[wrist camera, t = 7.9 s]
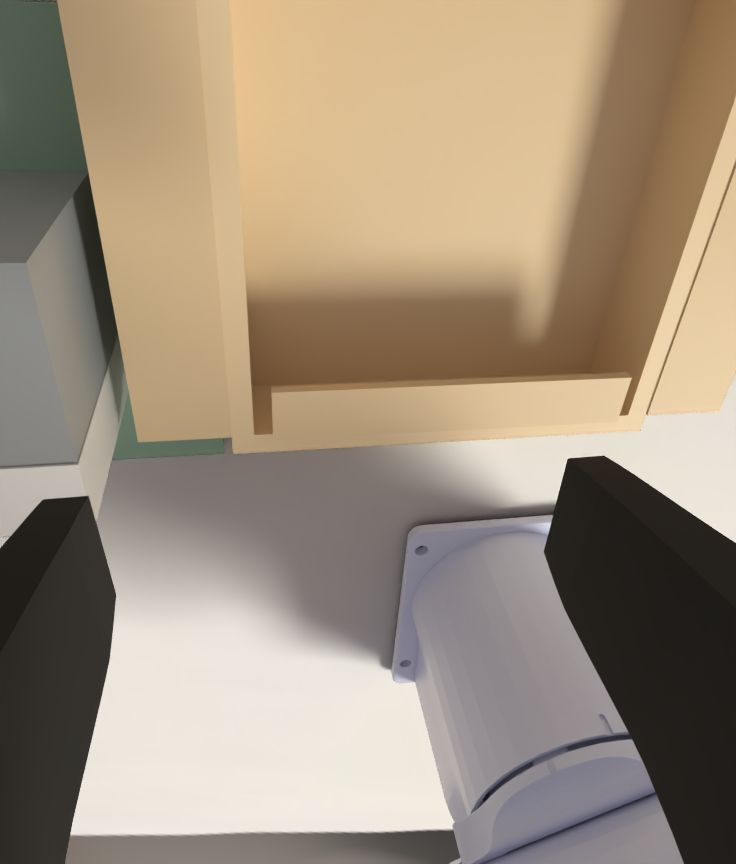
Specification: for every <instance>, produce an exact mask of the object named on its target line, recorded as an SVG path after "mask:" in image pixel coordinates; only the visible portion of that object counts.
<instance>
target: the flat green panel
mask: <svg viewBox="0 0 736 864" xmlns="http://www.w3.org/2000/svg"><path fill="white" fill-rule="evenodd" d="M0 170H52V171H88V167H87V162H86V156H85V151H84V145H83V140H82V134H81V129H80V124H79V118H78V113H77V107H76V102H75V96H74V91H73V85H72V80H71V75H70V69H69V64H68V58H67V53H66V47H65V42H64V36H63V31H62V26H61V20H60V15H59V9H58V4H57V2H38V1H20V0H0ZM223 453H224V439H223V438H211V439H192V440H174V441H155V442H138V439H137V434H136V428H135V423H134V417H133V412H132V407H131V401H130V396H129V391H128V395H127V399H126V404H125V408H124V412H123V416H122V420H121V424H120V428H119V432H118V437H117V441H116V445H115V449H114V453H113V457H112V460H118V459H135V458H153V457H170V456H188V455H205V454H223Z"/></svg>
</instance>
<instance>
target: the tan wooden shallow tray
mask: <svg viewBox="0 0 736 864" xmlns="http://www.w3.org/2000/svg"><path fill="white" fill-rule="evenodd" d="M57 4H58V9H59V15H60V20H61V26H62V31H63V36H64V42H65V47H66V53H67V58H68V64H69V69H70V75H71V80H72V85H73V91H74V96H75V102H76V107H77V113H78V118H79V124H80V129H81V134H82V140H83V145H84V151H85V156H86V162H87V167H88V172H89V178H90V183H91V189H92V194H93V200H94V205H95V211H96V216H97V221H98V227H99V232H100V238H101V243H102V249H103V254H104V260H105V265H106V270H107V276H108V281H109V287H110V292H111V298H112V303H113V309H114V314H115V319H116V325H117V330H118V336H119V341H120V347H121V352H122V358H123V363H124V368H125V374H126V379H127V385H128V390H129V396H130V401H131V407H132V412H133V417H134V423H135V428H136V434H137V439H138V442H155V441H174V440H192V439H211V438H230V437H232V449H233V454H244V453H262V452H279V451H297V450H314V449H332V448H349V447H367V446H384V445H401V444H419V443H436V442H454V441H471V440H489V439H506V438H523V437H541V436H558V435H576V434H593V433H611V432H628V431H641V428H642V425H643V423H644V420H645V417H646V414H647V415H663V414H682V413H700V412H719V411H720V408H721V406H722V404H723V401H724V399H725V397H726V394H727V392H728V390H729V388H730V385H731V383H732V381H733V378H734V376H735V374H736V0H57Z"/></svg>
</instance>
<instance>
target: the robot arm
mask: <svg viewBox="0 0 736 864" xmlns="http://www.w3.org/2000/svg"><path fill="white" fill-rule="evenodd" d="M419 546H423V547H421V548H417V547H419ZM115 600H116V593H115V589H114V585H113V582H112V578H111V575H110V571H109V567H108V564H107V560H106V557H105V553H104V549H103V546H102V542H101V538H100V535H99V531H98V528H97V524H96V520H95V517H94V513H93V510H92V506H91V502H90V499H89V496H80V497H67V498H54V499H43V500H42V501H41V502H40V503H39V504H38V505H37V506H36V507H35V509H34V510H33V511H32V512H31V513H30V514H29V515H28V517H27V518H26V519H25V520H24V521H23V522H22V523H21V525H20V526H19V527H18V528H17V529H16V530H15V532H14V533H13V534H12V535H11V536H10V537H9V539H8V540H7V541H6V542H5V543H4V545H3V546H2V547H1V548H0V864H65V859H66V853H67V848H68V842H69V838H70V832H71V827H72V822H73V817H74V813H75V808H76V804H77V800H78V796H79V791H80V787H81V783H82V778H83V774H84V770H85V765H86V761H87V757H88V752H89V748H90V744H91V740H92V735H93V731H94V727H95V722H96V718H97V714H98V709H99V705H100V700H101V696H102V691H103V687H104V683H105V678H106V674H107V669H108V664H109V659H110V650H111V641H112V632H113V622H114V611H115ZM391 673H392V677H393V680H394V681H395V682H397V683H409V682H415V683H416V687H417V691H418V695H419V699H420V703H421V707H422V711H423V715H424V719H425V723H426V726H427V730H428V734H429V738H430V742H431V746H432V750H433V754H434V758H435V762H436V766H437V770H438V774H439V778H440V781H441V785H442V789H443V793H444V797H445V800H446V803H447V806H448V809H449V811H450V814H451V816H452V818H453V820H454V821H455V823H454V824H453V829H454V833H455V837H456V841H457V845H458V849H459V853H460V857H461V858H460V859H458V860H455V861H453V862H451V863H450V864H736V543H735V542H733V541H732V540H730V539H729V538H727V537H726V536H724V535H722V534H721V533H719V532H718V531H716V530H715V529H713V528H712V527H710V526H709V525H707V524H706V523H704V522H703V521H701V520H700V519H698V518H697V517H696V516H694V515H693V514H691V513H690V512H688V511H687V510H685V509H684V508H682V507H681V506H679V505H678V504H676V503H675V502H674V501H672V500H671V499H669V498H668V497H666V496H665V495H663V494H662V493H660V492H659V491H657V490H656V489H654V488H653V487H652V486H650V485H649V484H647V483H646V482H644V481H643V480H641V479H640V478H638V477H637V476H635V475H634V474H632V473H631V472H629V471H628V470H626V469H625V468H623V467H622V466H620V465H618V464H617V463H615V462H614V461H612V460H610V459H609V458H607V457H605V456H595V457H582V458H569V459H568V460H567V464H566V468H565V472H564V476H563V479H562V483H561V487H560V491H559V495H558V499H557V502H556V506H555V510H554V514H553V515H544V516H531V517H519V518H506V519H493V520H480V521H468V522H455V523H442V524H430V525H420V526H416V527H415V528H413V529H412V530H411V531H410V532H409V534H408V538H407V547H406V555H405V563H404V571H403V580H402V588H401V596H400V604H399V613H398V621H397V629H396V637H395V646H394V654H393V662H392V670H391Z"/></svg>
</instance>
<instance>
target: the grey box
mask: <svg viewBox="0 0 736 864" xmlns="http://www.w3.org/2000/svg"><path fill="white" fill-rule="evenodd" d="M128 391H129V390H128V385H127V379H126V374H125V368H124V363H123V358H122V352H121V347H120V341H119V336H118V330H117V325H116V319H115V314H114V309H113V303H112V298H111V292H110V287H109V281H108V276H107V270H106V265H105V260H104V254H103V249H102V243H101V238H100V232H99V227H98V221H97V216H96V211H95V205H94V200H93V194H92V189H91V183H90V178H89V172H88V171H52V170H0V537H9V536H11V535H12V534H13V533H14V532H15V530H16V529H17V528H18V527H19V526H20V525H21V523H22V522H23V521H24V520H25V519H26V518H27V517H28V515H29V514H30V513H31V512H32V511H33V510H34V509H35V507H36V506H37V505H38V504H39V503H40V502H41V501H42V500H43V499H54V498H67V497H80V496H89V499H90V502H91V506H92V510H93V513H94V517H95V520H96V523H97V519H98V515H99V511H100V506H101V502H102V498H103V494H104V490H105V486H106V482H107V478H108V474H109V469H110V465H111V461H112V457H113V453H114V449H115V445H116V441H117V437H118V432H119V428H120V424H121V420H122V416H123V412H124V408H125V404H126V399H127V395H128Z"/></svg>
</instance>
